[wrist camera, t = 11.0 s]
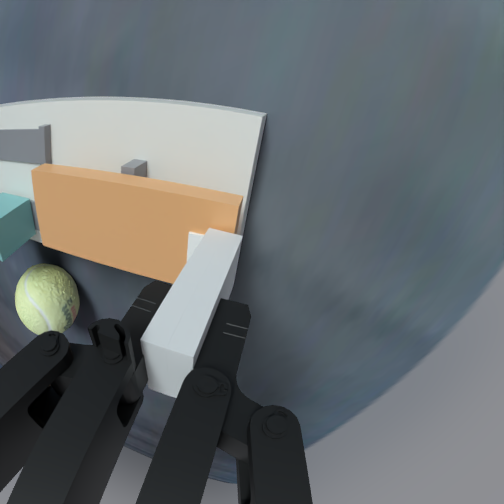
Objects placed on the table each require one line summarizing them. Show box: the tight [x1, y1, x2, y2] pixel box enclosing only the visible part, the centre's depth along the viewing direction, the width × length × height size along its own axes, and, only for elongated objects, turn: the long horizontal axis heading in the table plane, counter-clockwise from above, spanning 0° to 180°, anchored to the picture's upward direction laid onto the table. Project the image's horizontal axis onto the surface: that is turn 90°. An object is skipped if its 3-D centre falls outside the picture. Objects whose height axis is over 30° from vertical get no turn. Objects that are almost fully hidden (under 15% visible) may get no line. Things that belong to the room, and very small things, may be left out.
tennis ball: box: [15, 263, 80, 335], centre depth 21 cm, size 6×7×7 cm
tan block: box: [31, 163, 243, 284], centre depth 14 cm, size 12×5×1 cm, turn 79°
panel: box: [0, 97, 267, 243], centre depth 16 cm, size 30×11×3 cm, turn 79°
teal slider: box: [0, 192, 36, 261], centre depth 16 cm, size 4×3×4 cm
